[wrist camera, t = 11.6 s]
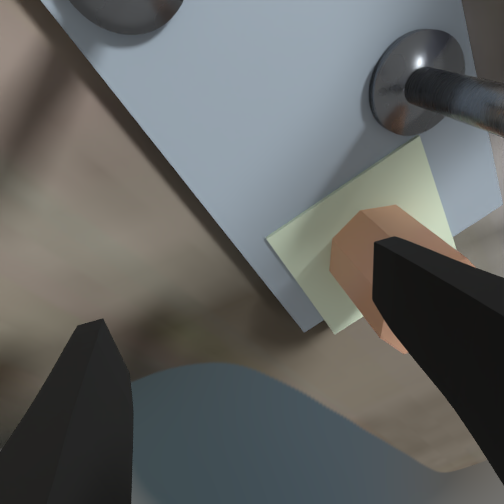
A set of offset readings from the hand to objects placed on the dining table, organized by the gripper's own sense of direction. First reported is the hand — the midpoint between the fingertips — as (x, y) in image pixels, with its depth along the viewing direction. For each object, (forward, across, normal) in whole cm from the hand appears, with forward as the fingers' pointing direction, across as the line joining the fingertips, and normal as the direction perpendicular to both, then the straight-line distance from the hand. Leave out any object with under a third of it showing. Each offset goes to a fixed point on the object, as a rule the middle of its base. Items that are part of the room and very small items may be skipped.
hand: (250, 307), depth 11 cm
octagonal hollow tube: (+9, -9, +6) cm, 14 cm away
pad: (+10, -8, +6) cm, 14 cm away
